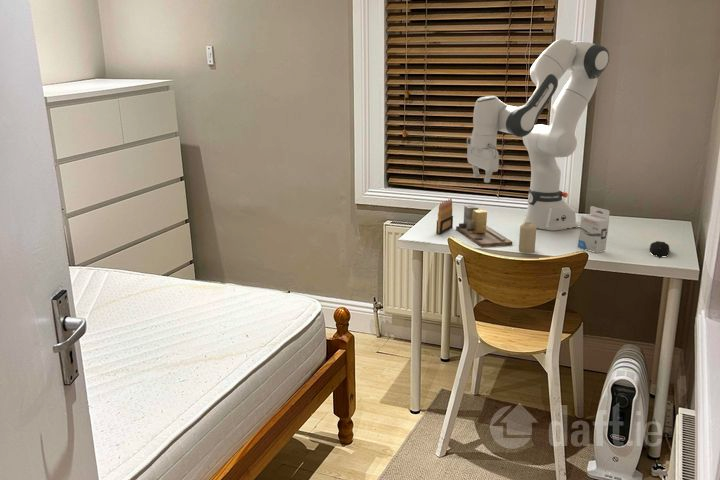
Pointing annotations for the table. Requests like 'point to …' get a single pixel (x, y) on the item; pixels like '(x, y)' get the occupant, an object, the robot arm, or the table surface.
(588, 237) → the ink box
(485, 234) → the gauge board
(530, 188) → the robot arm
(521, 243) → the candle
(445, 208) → the ammunition clip
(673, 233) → the table surface
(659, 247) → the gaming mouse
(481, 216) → the block
